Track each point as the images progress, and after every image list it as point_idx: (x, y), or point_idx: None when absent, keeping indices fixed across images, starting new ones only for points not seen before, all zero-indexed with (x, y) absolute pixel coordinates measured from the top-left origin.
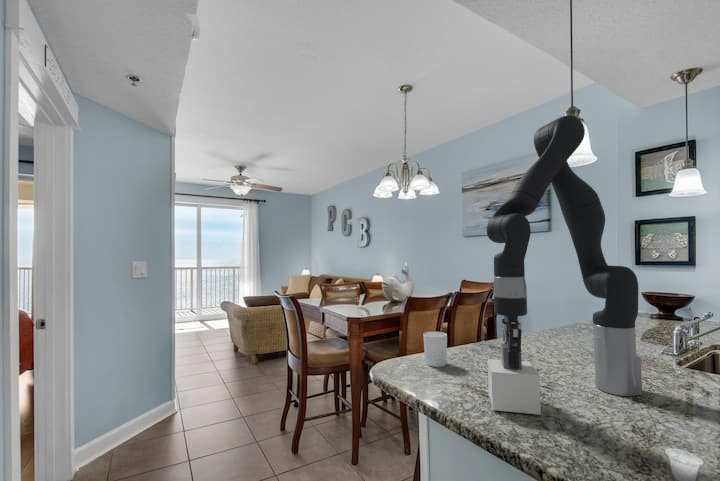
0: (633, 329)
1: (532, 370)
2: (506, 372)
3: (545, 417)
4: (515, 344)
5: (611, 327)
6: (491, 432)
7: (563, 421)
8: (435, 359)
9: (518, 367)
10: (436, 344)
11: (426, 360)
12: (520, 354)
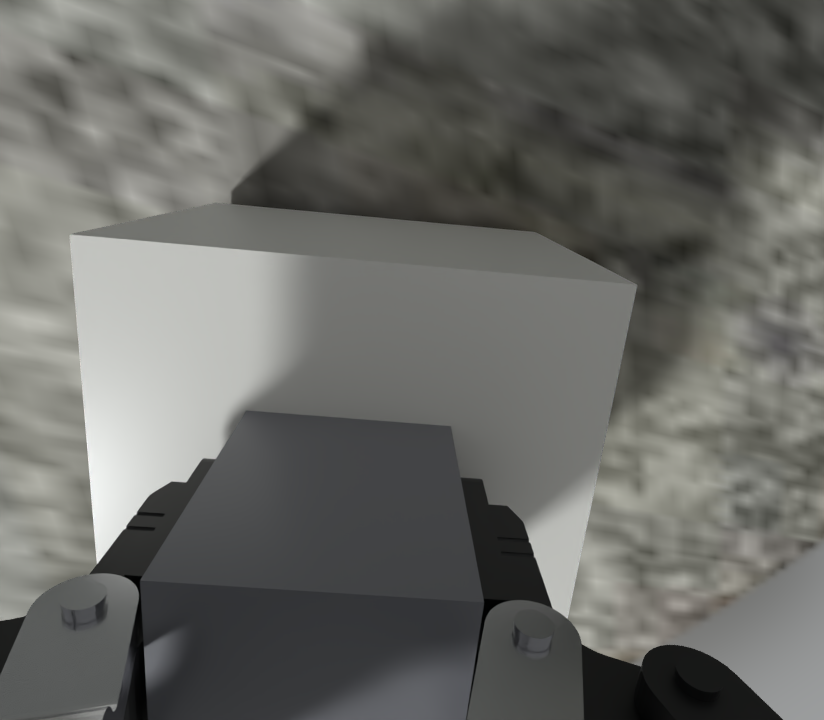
0: None
1: (459, 310)
2: (555, 593)
3: (537, 201)
4: (164, 627)
5: None
6: (729, 546)
7: (590, 94)
8: None
9: (479, 482)
10: None
11: None
12: (471, 545)
